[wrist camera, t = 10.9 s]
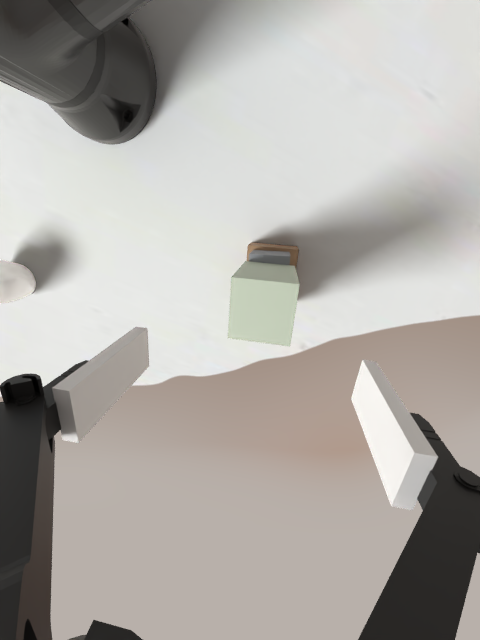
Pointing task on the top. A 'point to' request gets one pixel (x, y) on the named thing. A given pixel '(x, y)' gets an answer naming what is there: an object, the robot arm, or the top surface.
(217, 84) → the top surface
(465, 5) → the top surface
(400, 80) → the top surface
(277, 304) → the sage block
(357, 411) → the robot arm
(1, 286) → the figurine
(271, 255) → the tower top
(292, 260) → the tower base
